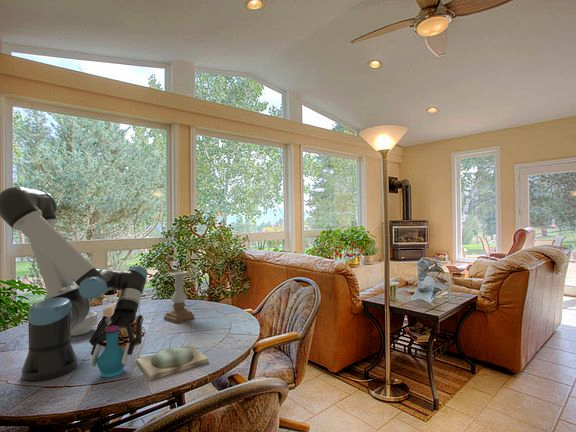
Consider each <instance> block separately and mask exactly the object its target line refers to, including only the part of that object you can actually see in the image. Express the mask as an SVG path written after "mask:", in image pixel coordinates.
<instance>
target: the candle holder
mask: <svg viewBox="0 0 576 432" xmlns="http://www.w3.org/2000/svg"><path fill="white" fill-rule="evenodd" d="M189 274H190V271H189V270H177V271H176V270H175V271H170V272H168V275H169V276H170V277H173V278H174V280H175V281H174V284H173V286H174V289H175V290H174V292H173V295H172V296H171V302H172V303H173V304H172V307H173V309H171V311H167V312H166V313H165V315H163V320H164V321H168V322H170V323H174V324H179V323H182V321H183V322H185V321H188V320H189V321H190V320H192V319H195V314H194V313H193V312H192V311H191V310H188V309H187V308H185V307H186V303H185V302H186V300H187V295H186V293H185V292H184V290H183V288H184V286H185V283H184V281H183V280H184V279H185V276H188V275H189Z"/></svg>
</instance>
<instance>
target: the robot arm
mask: <svg viewBox="0 0 576 432" xmlns="http://www.w3.org/2000/svg"><path fill="white" fill-rule="evenodd" d="M57 210H58V203H57V201H56V199H55V198H54V197H53V195H52V194H50V193H49V192H47V191H43V190H41V189H37V188H27V187H23V186H22V187H21V186H13V187H8V188H6V189H3V190H2V191H0V217H1V219H3V220H2V221H4V222H5V223H6V224H7V225H8V226H10V228H12V229H13V230H14V231H20V232H21V233H22V234H23V235H24V236H25V237H26V238H27V239H28V241H29V243H30V247H31V250H32V253H33V256H34V258H35V260H36V263H37V267H38V269H39V272H40V275H41V279H42V281H43V284H44V287H45V290H46V295H45V296H44V298H43V299H44V300H40V301H37V302H34V304H32V305H31V306H30V307H29V310H28V315H27V321H28V322H27V323H28V352H27V356H26V358H25V361H24V363H23V366H22V369H21V379H22V380H23V381H26V382H41V381H42V382H43V381H46V380H51V379H55V378H58V377H61V376H64V375H66V374H68V373H70V372H72V371H74V370H75V369H76V367H77V366H78V358H77V354H76V351H75V350H74V347H73V345H72V336H71V328H72V327H74V326H75V325H76V324H78V323H80V322H81V321H82V320H83V319H84V318H85V317H86V316H87V315H88V313H89V311H90V312H91V300H95V299H97V298H100V297H102V296H103V295H104V294H106V293H107V292H109V291H120V293H119V297H118V298H117V302H116V305H115V308H114V310H113V314H112V315H111V316H106V315H103V316H102V318H101V322H100V323H99V325H98V327H96V330H95V331H94V333H93V334H92V336H91V337H90V338H89V340H88V342H89V344H90V345H91V346H92V350H91V352H90V355H91V359H90V360H89V366H91V367H92V368H95V367H96V366H97V359H98V358H99V356H100V355H101V353H102V352H101V351H102V348H103V347H102V344H104V343H105V341H106V332H105V329H106V328H107V327H110V326H118V327H120V329H126V332H127V335H128V339H129V342H127V343H126V345H125V350H124V351H125V352H124V355H123V358H122V362H121V363H122V364H123V366H125V367H126V366H127V364H128V360H129V357H130V356H131V355H133V354H134V353H133V352H134V350H135V346H136V345H141V344H142V333H143V330H142V329H143V328H142V327H143V322H144V317H143V315H142V314H139V315H137V312H138V309H139V304H140V302H141V299H142V295H143V292H144V290H145V289H144V288H145V287H146V283H147V277H148V274H149V272H148V269H146V268H145V267H144V266H141V265H132V266H130V267H129V269H128V270H116V269H115V270H114V269H106V268H95V266H93V264H92V263H91V262H90V261H88V259H86V258H85V257H84V256H83V255H82V254H81V252H79V251H78V249H76V248H75V247H74V246H73V245H72V244H71V243H70V242H69V241H68V240H67V239H66V238H65V237H63V235H62V234H61V233H60V232H59V231H58V230H57V229H56V228H55V225H56V222H57V221H58V219H57V216H56V213H57ZM134 321H135V324H136V325H135V326H136V327H135V330H136V331H135V335H134V332H133V327H132V324H133V323H134Z"/></svg>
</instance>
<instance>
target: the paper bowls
mask: <svg viewBox="0 0 576 432" xmlns="http://www.w3.org/2000/svg"><path fill="white" fill-rule="evenodd" d="M97 325H98V313H97V312H96V311H91V310H90V311H89V313H88V315H87V316H86V317H85V318H84V319H83V320H82V321H81V322H80V323H78V324H76V325H75V326H74V327H72V328H71V337H75V336H80V335H85V334H87V333H89V332H91V331H92V328H93V327H95V326H97Z"/></svg>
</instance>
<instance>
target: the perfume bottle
mask: <svg viewBox="0 0 576 432" xmlns="http://www.w3.org/2000/svg"><path fill="white" fill-rule="evenodd" d="M120 329H121V328H120V327H118V326H110V327H108V326H106V328H105V330H104V331H105V332H106V340H105V341H106V347H105V349H103V351H102V352H101V353H100V354H99V357H98V359H97V363H96V366H97V368H98V371H99V372H100V376H101V377H102V378H103V377H104V378H111V377H116V376H119V375H120V374H122V373H123V372H124V370H125V369H124V368H125V367H126V366H123V364H122V363H121V362H122V358H123V355H124V352H125V350H124V349H123V348H122V347H121V346H120V344H119V332H120Z"/></svg>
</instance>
